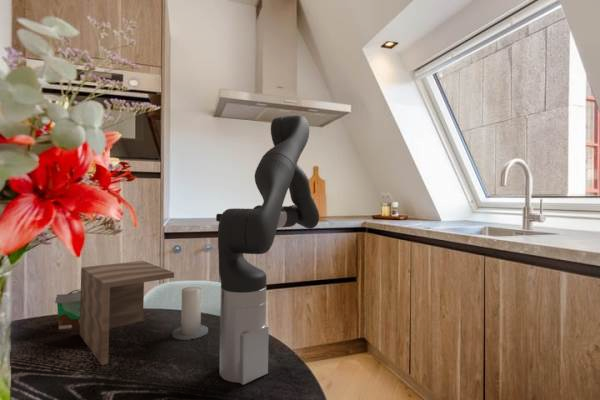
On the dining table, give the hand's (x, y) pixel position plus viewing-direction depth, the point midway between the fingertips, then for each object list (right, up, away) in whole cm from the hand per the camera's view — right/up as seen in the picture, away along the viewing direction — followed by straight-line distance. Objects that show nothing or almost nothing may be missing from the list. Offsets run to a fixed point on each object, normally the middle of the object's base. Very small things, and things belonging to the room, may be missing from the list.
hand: (224, 218), depth 89 cm
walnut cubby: (-22, -30, -11) cm, 38 cm away
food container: (-39, -30, -2) cm, 49 cm away
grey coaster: (-8, -30, -6) cm, 31 cm away
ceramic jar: (-8, -29, -6) cm, 31 cm away
